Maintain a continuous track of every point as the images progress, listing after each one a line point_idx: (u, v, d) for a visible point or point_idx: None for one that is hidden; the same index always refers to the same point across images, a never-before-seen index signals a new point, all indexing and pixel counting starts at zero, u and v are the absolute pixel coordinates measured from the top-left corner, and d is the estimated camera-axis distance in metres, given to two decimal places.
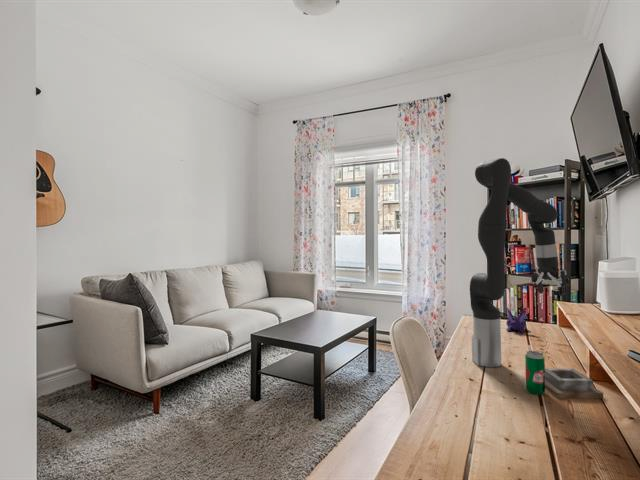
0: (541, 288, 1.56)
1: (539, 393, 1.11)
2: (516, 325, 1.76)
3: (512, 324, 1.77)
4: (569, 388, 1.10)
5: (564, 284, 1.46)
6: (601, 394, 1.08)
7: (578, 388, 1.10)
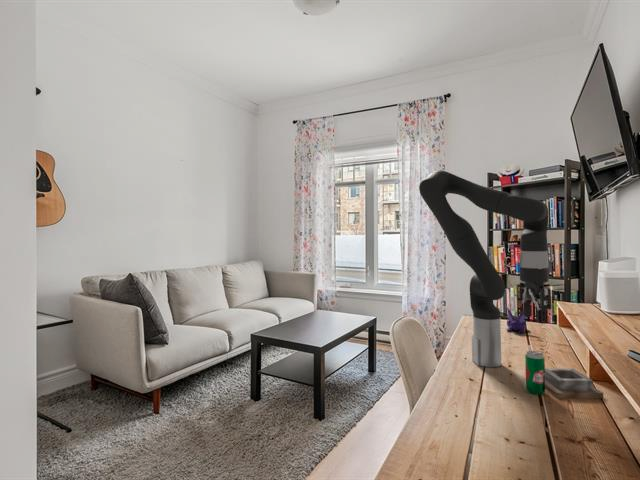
0: (528, 310, 1.17)
1: (539, 393, 1.11)
2: (516, 325, 1.76)
3: (512, 324, 1.77)
4: (569, 388, 1.10)
5: (541, 307, 1.06)
6: (601, 394, 1.08)
7: (578, 388, 1.10)
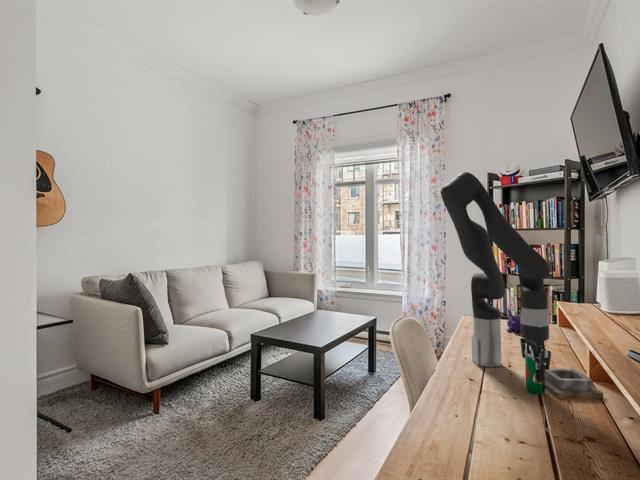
0: None
1: (539, 393, 1.11)
2: (516, 326, 1.75)
3: (512, 325, 1.76)
4: (569, 388, 1.10)
5: (539, 368, 1.08)
6: (601, 394, 1.08)
7: (578, 388, 1.10)
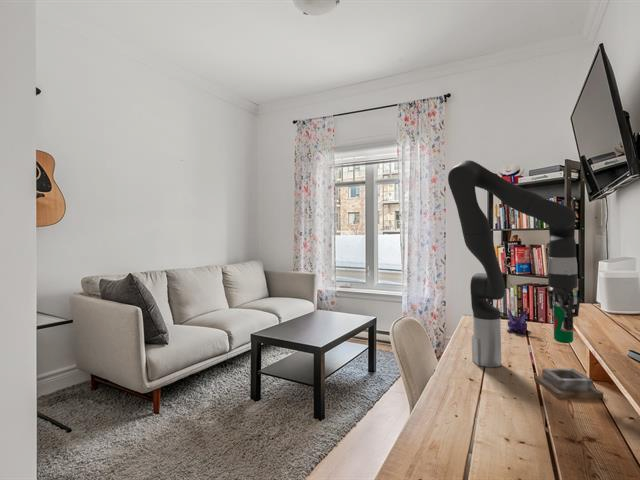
0: None
1: (567, 341, 1.12)
2: (516, 326, 1.74)
3: (512, 325, 1.75)
4: (569, 388, 1.10)
5: (568, 314, 1.09)
6: (601, 394, 1.08)
7: (578, 388, 1.10)
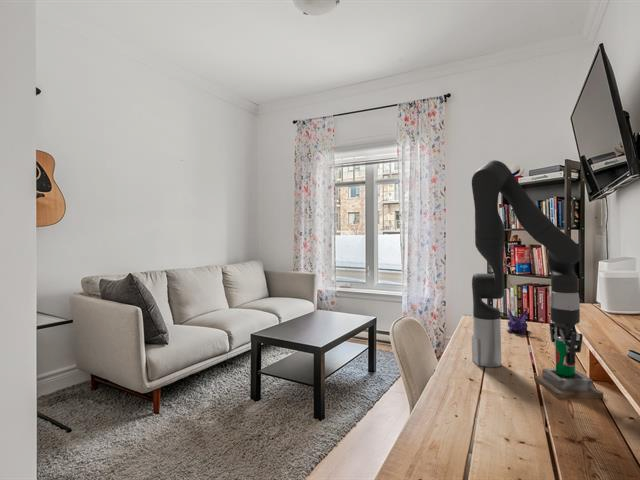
0: None
1: (569, 376, 1.12)
2: (517, 326, 1.74)
3: (513, 325, 1.75)
4: (569, 388, 1.10)
5: (571, 350, 1.09)
6: (601, 394, 1.08)
7: (578, 388, 1.10)
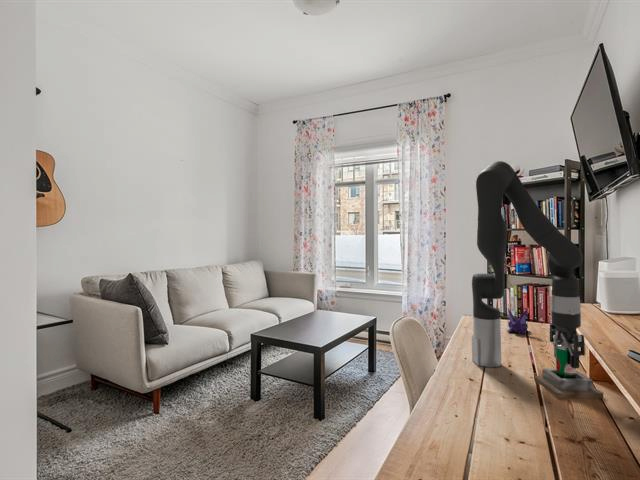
0: None
1: None
2: (517, 327, 1.73)
3: (513, 325, 1.75)
4: (569, 388, 1.10)
5: (575, 353, 1.08)
6: (601, 394, 1.08)
7: (578, 388, 1.10)
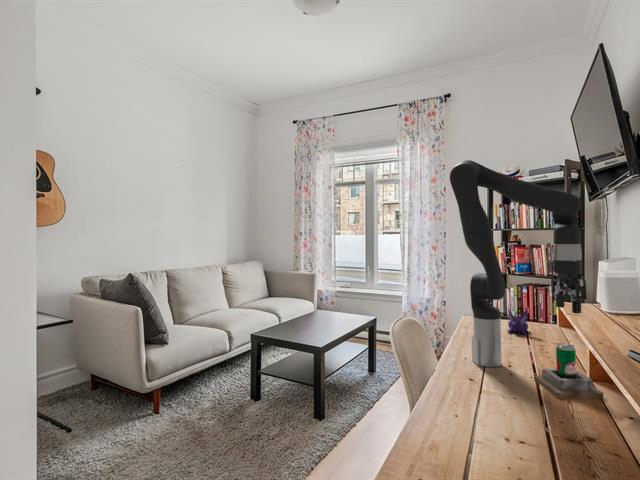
0: (560, 301, 1.21)
1: None
2: (517, 327, 1.73)
3: (513, 326, 1.74)
4: (569, 388, 1.10)
5: (577, 297, 1.10)
6: (601, 394, 1.08)
7: (578, 388, 1.10)
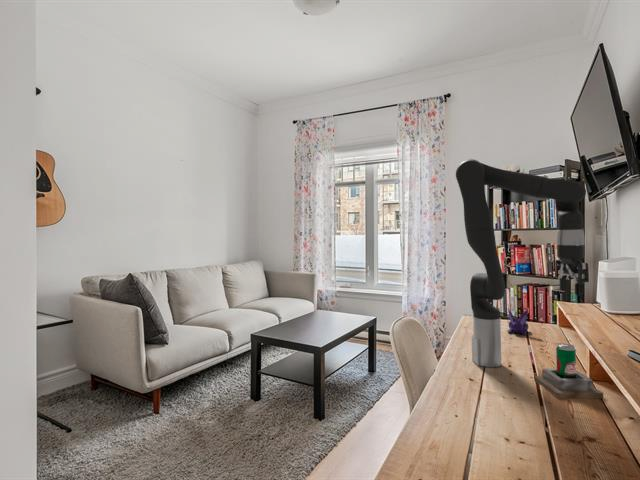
0: (564, 285, 1.26)
1: None
2: (517, 327, 1.73)
3: (513, 326, 1.74)
4: (569, 388, 1.10)
5: (579, 280, 1.16)
6: (601, 394, 1.08)
7: (578, 388, 1.10)
